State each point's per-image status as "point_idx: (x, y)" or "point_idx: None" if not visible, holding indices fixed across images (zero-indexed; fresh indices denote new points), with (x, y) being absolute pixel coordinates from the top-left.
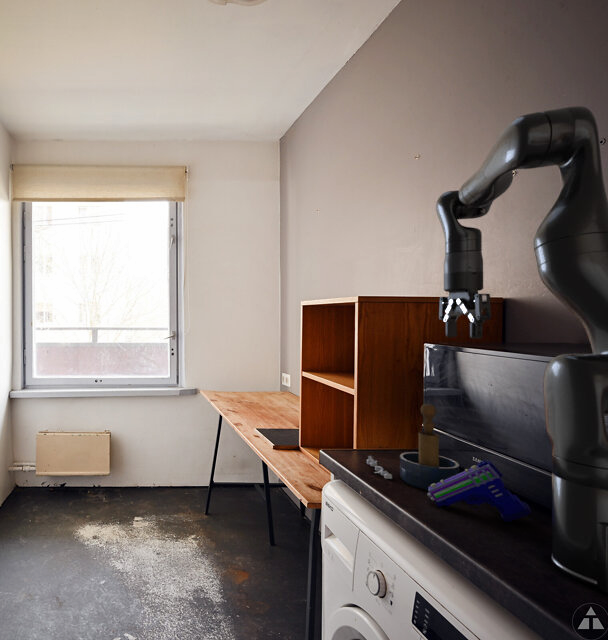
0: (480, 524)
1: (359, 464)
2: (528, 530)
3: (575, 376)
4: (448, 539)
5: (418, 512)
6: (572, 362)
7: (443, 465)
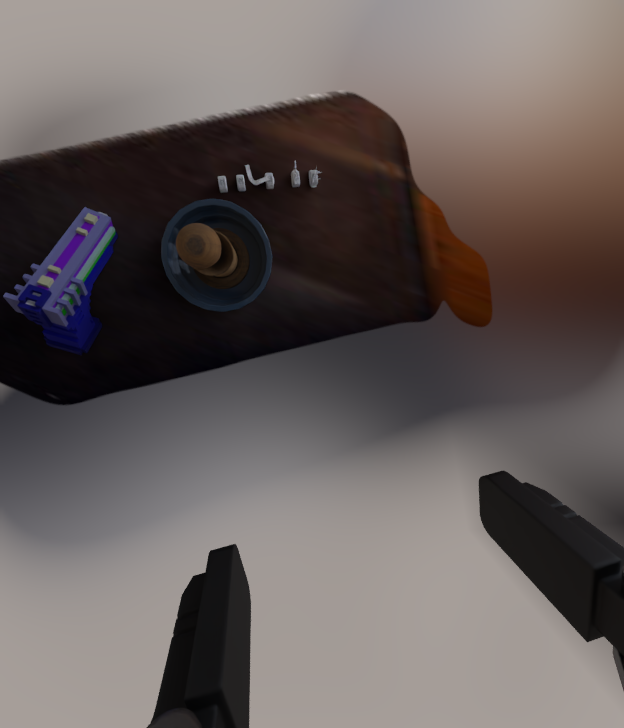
0: None
1: (302, 151)
2: None
3: None
4: None
5: (47, 177)
6: None
7: (248, 296)
